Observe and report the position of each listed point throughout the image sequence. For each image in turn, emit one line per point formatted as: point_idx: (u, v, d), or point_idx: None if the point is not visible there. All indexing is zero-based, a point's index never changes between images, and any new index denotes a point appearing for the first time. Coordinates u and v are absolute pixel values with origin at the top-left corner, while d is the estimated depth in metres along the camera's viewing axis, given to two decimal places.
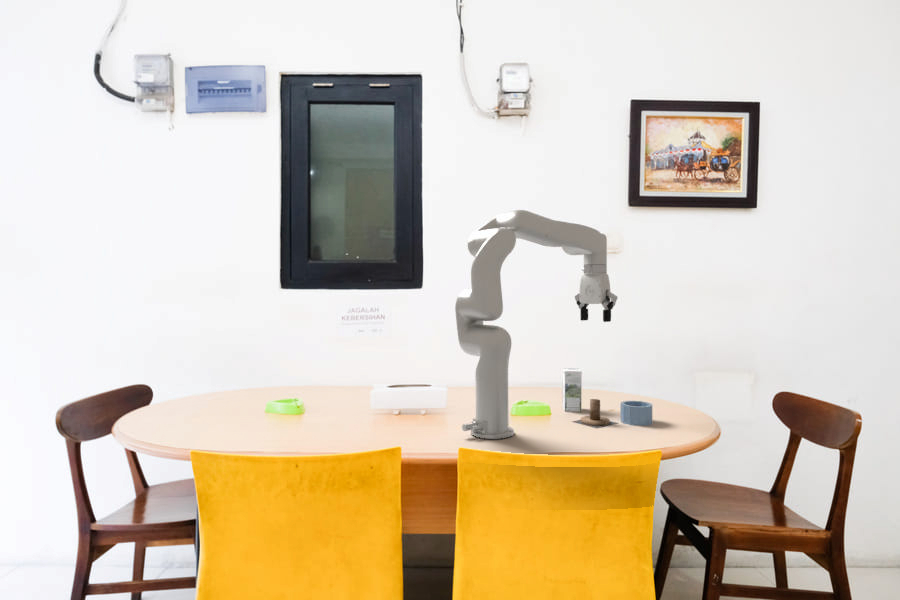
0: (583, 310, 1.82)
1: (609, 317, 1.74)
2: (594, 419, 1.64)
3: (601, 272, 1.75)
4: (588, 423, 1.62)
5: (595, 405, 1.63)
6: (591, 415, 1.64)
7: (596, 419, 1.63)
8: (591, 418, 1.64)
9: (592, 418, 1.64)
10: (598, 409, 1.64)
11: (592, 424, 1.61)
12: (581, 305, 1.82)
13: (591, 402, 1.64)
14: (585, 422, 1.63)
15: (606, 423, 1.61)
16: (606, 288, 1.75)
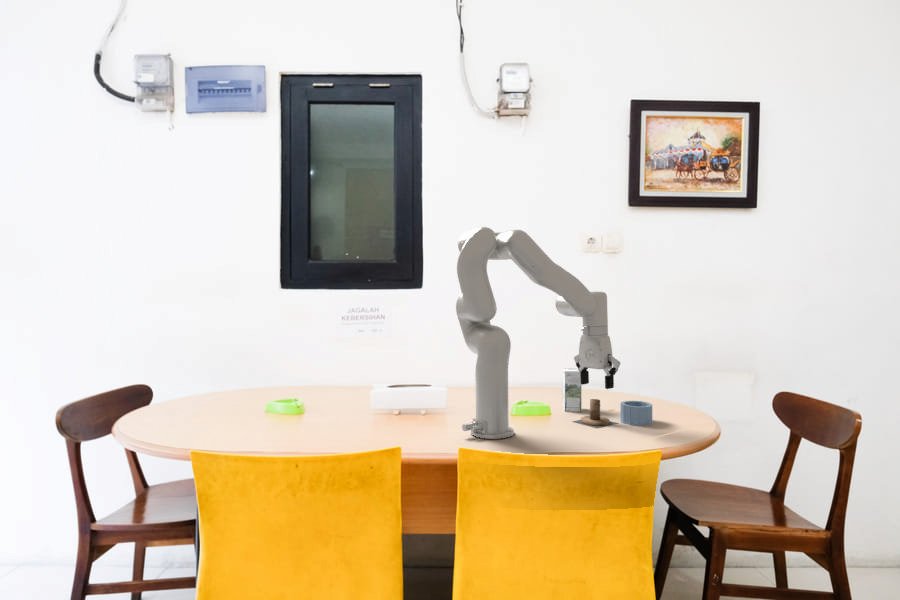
0: (583, 373, 1.68)
1: (612, 384, 1.60)
2: (594, 419, 1.64)
3: (602, 335, 1.61)
4: (588, 423, 1.62)
5: (595, 405, 1.63)
6: (591, 415, 1.64)
7: (596, 419, 1.63)
8: (591, 418, 1.64)
9: (592, 418, 1.64)
10: (598, 409, 1.64)
11: (592, 424, 1.61)
12: (581, 368, 1.68)
13: (591, 402, 1.64)
14: (585, 422, 1.63)
15: (606, 423, 1.61)
16: (608, 352, 1.60)
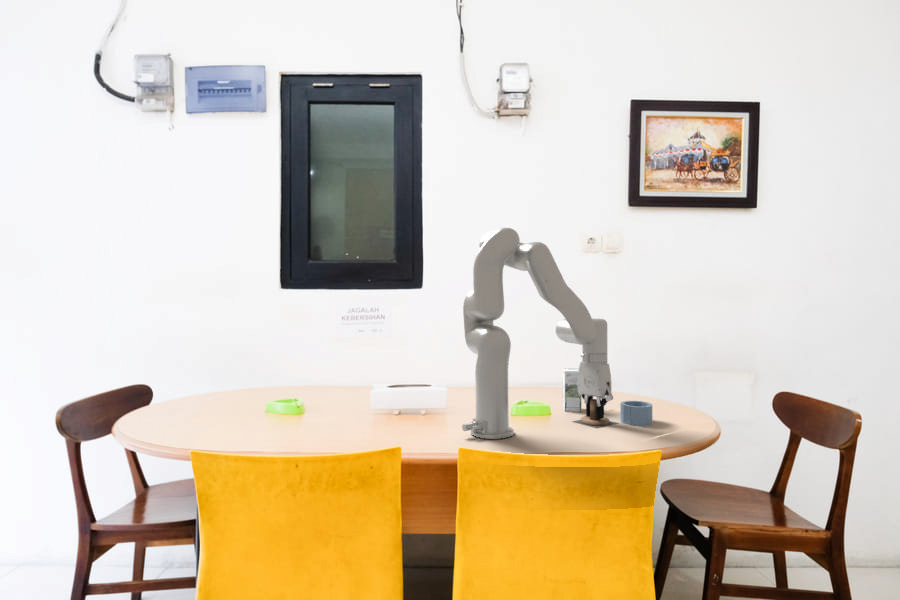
0: (589, 405, 1.66)
1: (602, 414, 1.63)
2: (594, 419, 1.64)
3: (601, 362, 1.61)
4: (588, 423, 1.62)
5: (595, 405, 1.63)
6: (591, 415, 1.64)
7: (596, 419, 1.63)
8: (591, 418, 1.64)
9: (592, 418, 1.64)
10: None
11: (592, 424, 1.61)
12: (586, 399, 1.66)
13: (591, 402, 1.64)
14: (585, 422, 1.63)
15: (606, 423, 1.61)
16: (607, 380, 1.60)
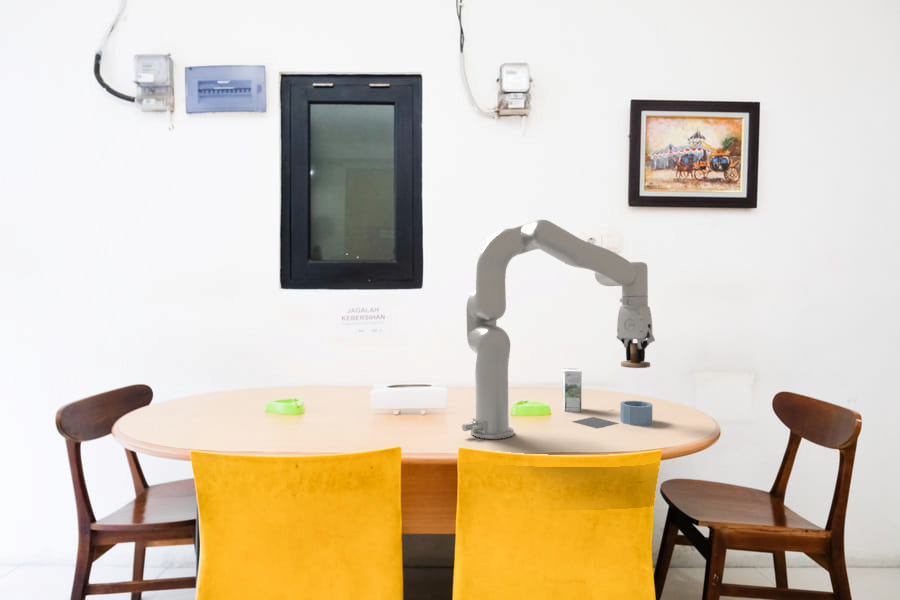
0: (629, 349, 1.66)
1: (643, 357, 1.63)
2: (635, 362, 1.64)
3: (642, 304, 1.61)
4: (629, 365, 1.62)
5: (636, 348, 1.63)
6: (632, 358, 1.64)
7: (637, 362, 1.64)
8: (632, 361, 1.64)
9: (633, 361, 1.64)
10: None
11: (633, 366, 1.61)
12: (626, 343, 1.66)
13: (631, 345, 1.64)
14: (626, 365, 1.63)
15: (647, 365, 1.62)
16: (648, 322, 1.60)
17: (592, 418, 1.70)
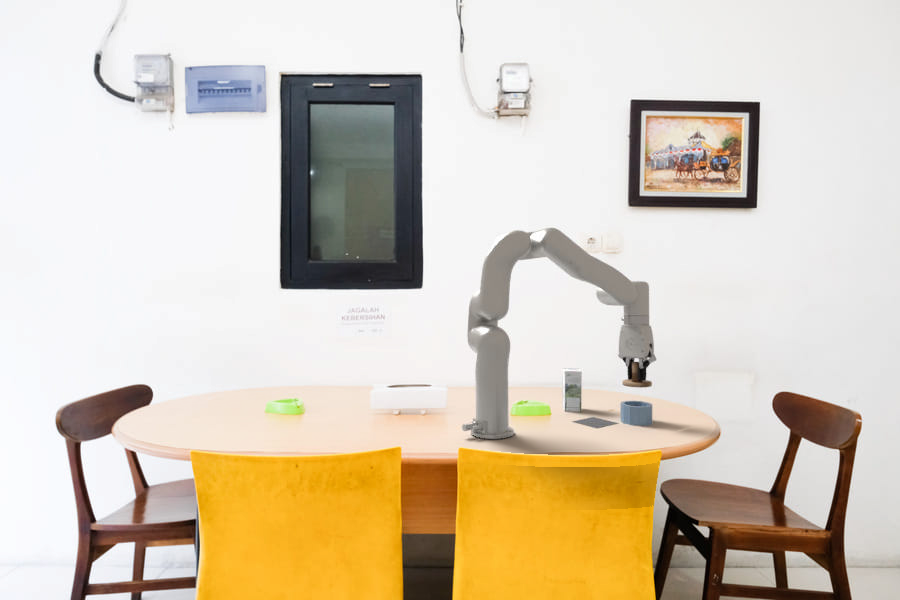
0: (631, 368, 1.66)
1: (644, 376, 1.63)
2: (636, 381, 1.64)
3: (644, 324, 1.61)
4: (631, 385, 1.62)
5: (638, 367, 1.64)
6: (633, 377, 1.64)
7: (638, 381, 1.64)
8: (633, 380, 1.64)
9: (634, 380, 1.64)
10: None
11: (635, 386, 1.61)
12: (627, 362, 1.66)
13: (633, 364, 1.64)
14: (628, 384, 1.63)
15: (649, 385, 1.62)
16: (649, 342, 1.60)
17: (592, 418, 1.70)
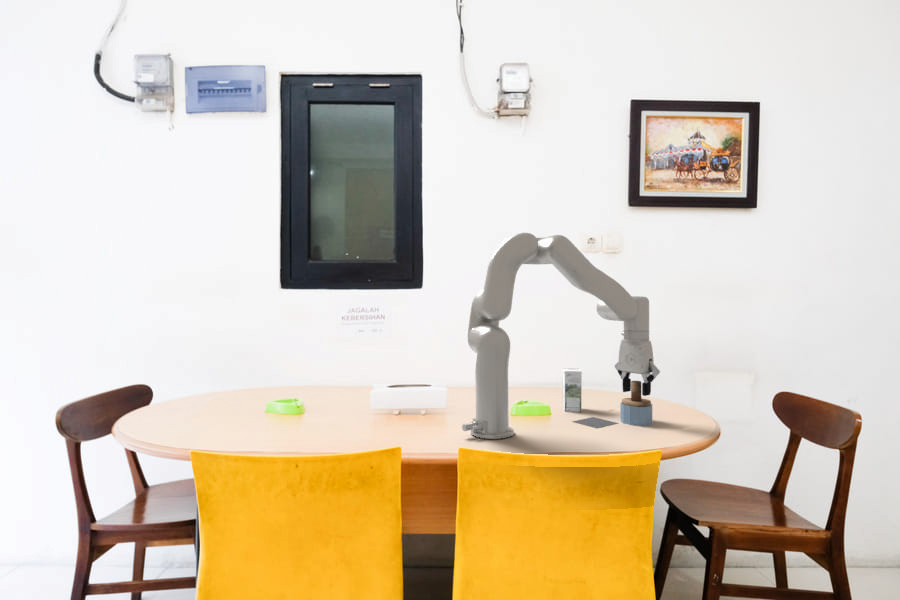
0: (626, 381, 1.67)
1: (649, 391, 1.61)
2: (636, 400, 1.64)
3: (644, 339, 1.61)
4: (630, 404, 1.62)
5: (637, 386, 1.64)
6: (632, 396, 1.65)
7: (638, 400, 1.64)
8: (632, 399, 1.65)
9: (633, 399, 1.64)
10: (639, 390, 1.64)
11: (634, 405, 1.61)
12: (623, 375, 1.67)
13: (632, 383, 1.64)
14: (627, 403, 1.63)
15: (648, 404, 1.62)
16: (649, 357, 1.61)
17: (592, 418, 1.70)
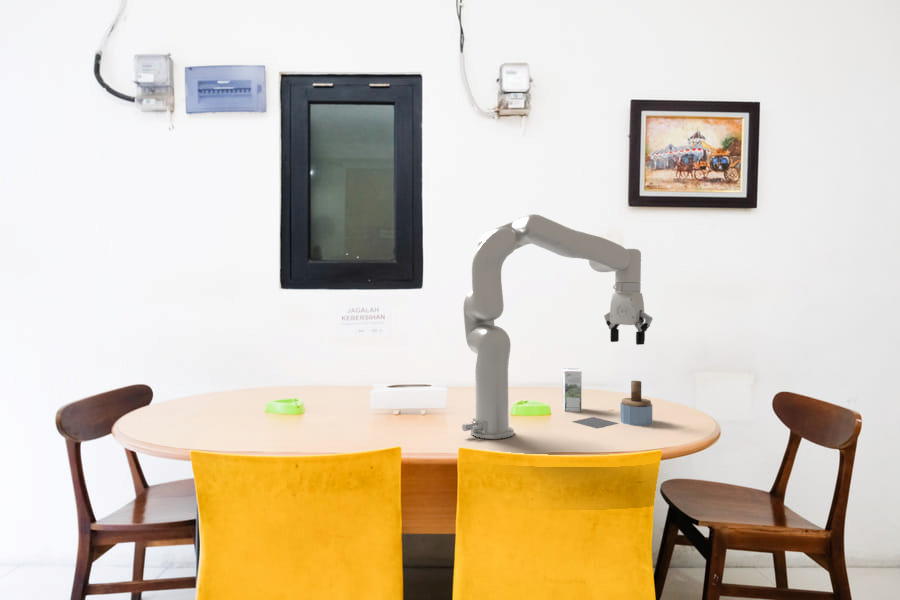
0: (613, 331, 1.69)
1: (643, 340, 1.61)
2: (636, 400, 1.64)
3: (635, 291, 1.62)
4: (630, 404, 1.62)
5: (637, 386, 1.64)
6: (632, 396, 1.65)
7: (638, 400, 1.64)
8: (632, 399, 1.65)
9: (633, 399, 1.64)
10: (639, 390, 1.64)
11: (634, 405, 1.61)
12: (611, 325, 1.69)
13: (632, 383, 1.64)
14: (627, 403, 1.63)
15: (648, 404, 1.62)
16: (640, 308, 1.61)
17: (592, 418, 1.70)
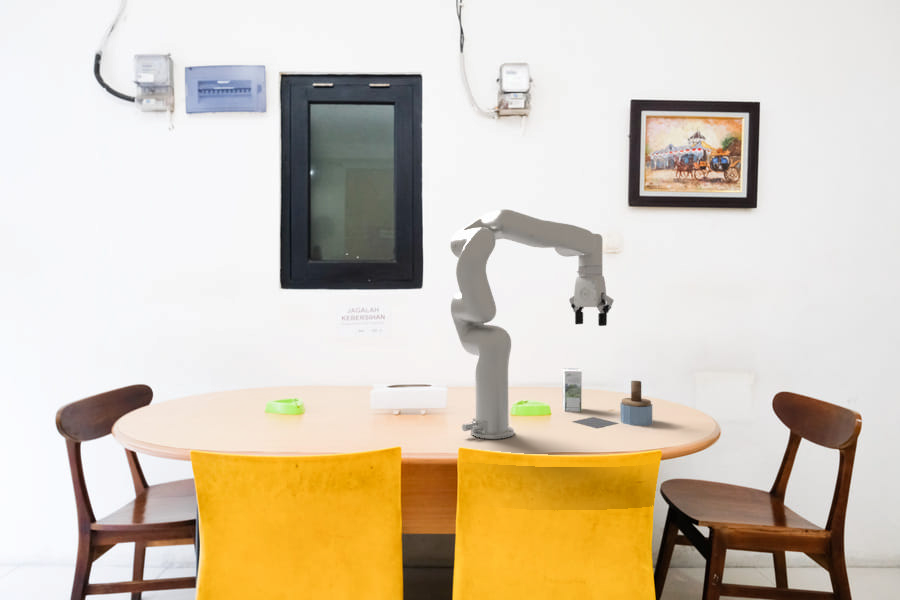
0: (578, 313, 1.75)
1: (605, 321, 1.67)
2: (636, 400, 1.64)
3: (596, 274, 1.68)
4: (630, 404, 1.62)
5: (637, 386, 1.64)
6: (632, 396, 1.65)
7: (638, 400, 1.64)
8: (632, 399, 1.65)
9: (633, 399, 1.64)
10: (639, 390, 1.64)
11: (634, 405, 1.61)
12: (576, 308, 1.75)
13: (632, 383, 1.64)
14: (627, 403, 1.63)
15: (648, 404, 1.62)
16: (602, 291, 1.67)
17: (592, 418, 1.70)
